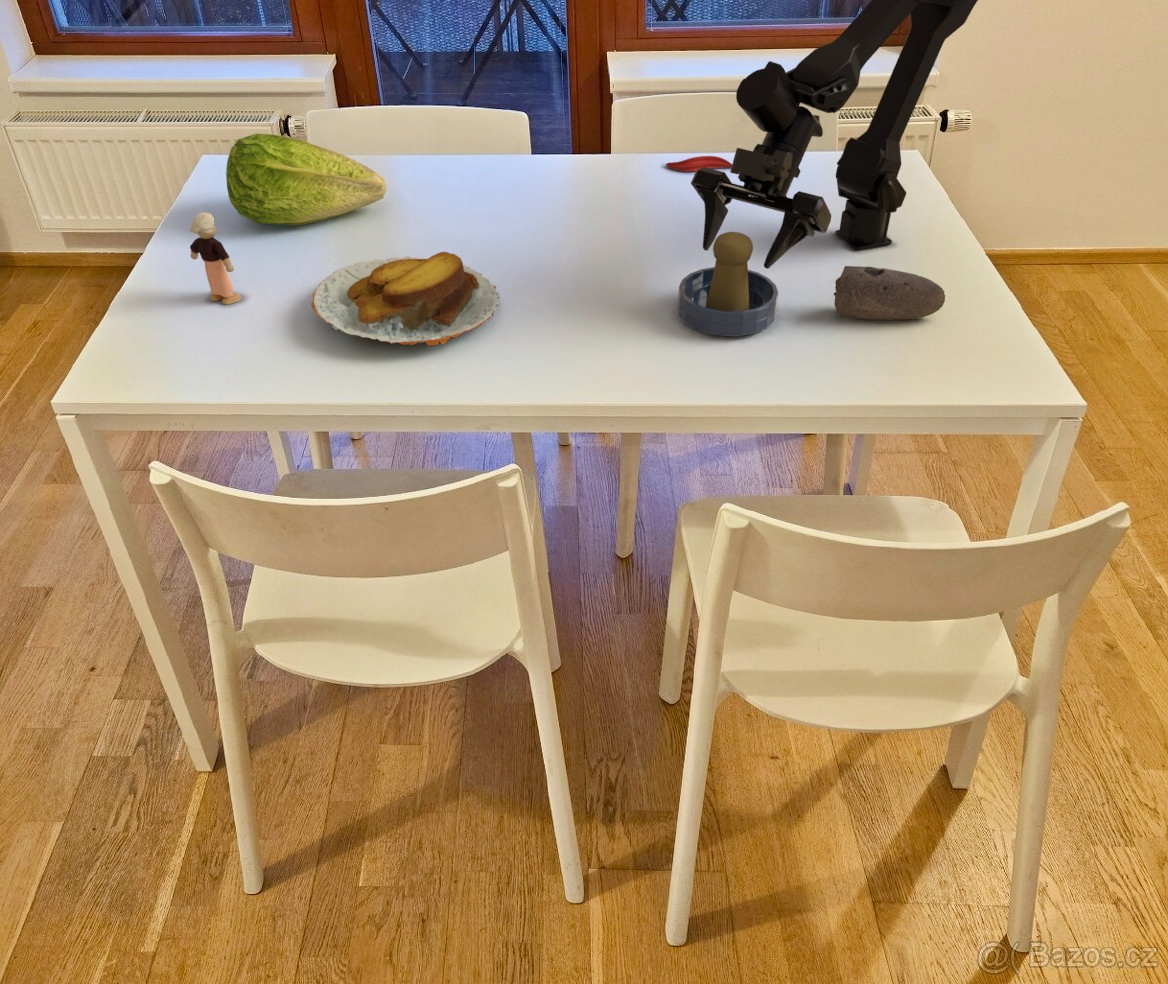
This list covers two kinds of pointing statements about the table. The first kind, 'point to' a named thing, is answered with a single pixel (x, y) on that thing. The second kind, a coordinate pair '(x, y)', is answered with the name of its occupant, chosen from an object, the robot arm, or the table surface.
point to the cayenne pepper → (699, 163)
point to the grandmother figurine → (213, 259)
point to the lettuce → (296, 181)
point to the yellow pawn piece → (730, 273)
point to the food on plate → (406, 299)
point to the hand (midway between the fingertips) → (734, 258)
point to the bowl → (724, 322)
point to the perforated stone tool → (885, 294)
